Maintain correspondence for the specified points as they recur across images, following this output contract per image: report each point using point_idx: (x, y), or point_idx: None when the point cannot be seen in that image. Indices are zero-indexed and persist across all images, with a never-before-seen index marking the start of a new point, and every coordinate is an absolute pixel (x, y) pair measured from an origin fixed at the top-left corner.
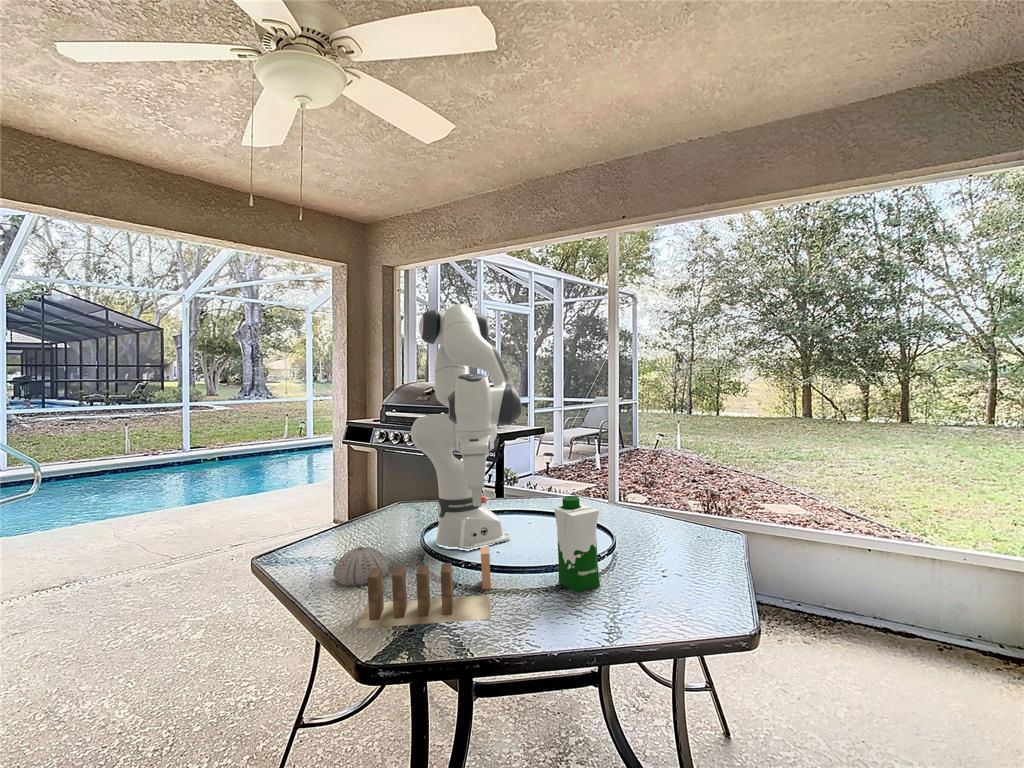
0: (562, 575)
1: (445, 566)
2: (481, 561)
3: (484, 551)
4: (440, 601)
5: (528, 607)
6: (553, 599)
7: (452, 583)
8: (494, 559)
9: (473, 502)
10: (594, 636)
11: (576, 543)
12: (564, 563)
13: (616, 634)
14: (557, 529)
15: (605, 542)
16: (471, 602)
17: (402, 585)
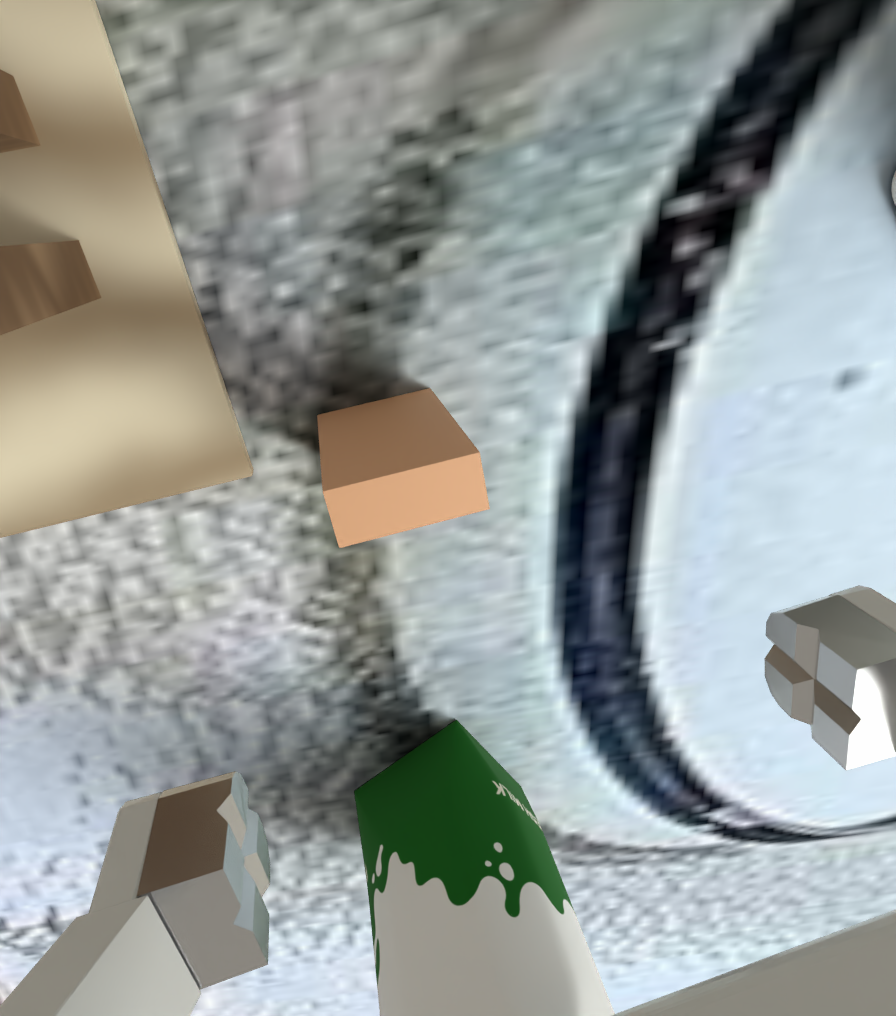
0: (423, 775)
1: None
2: (322, 475)
3: (380, 503)
4: (108, 203)
5: (191, 654)
6: (287, 728)
7: (59, 313)
8: (747, 382)
9: (110, 852)
10: (10, 894)
11: (383, 1014)
12: (398, 848)
13: (48, 942)
14: (489, 975)
15: (845, 807)
16: (139, 401)
17: None
